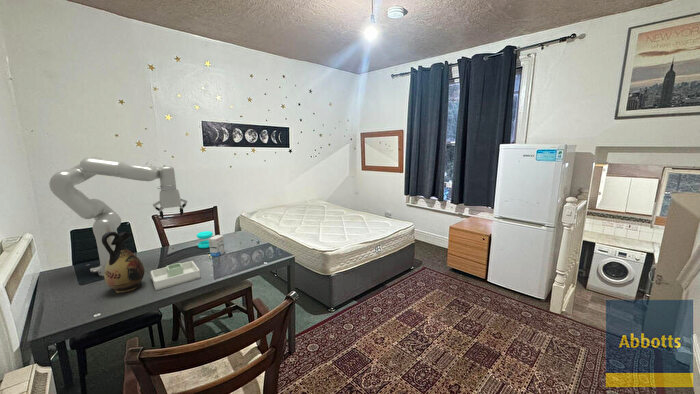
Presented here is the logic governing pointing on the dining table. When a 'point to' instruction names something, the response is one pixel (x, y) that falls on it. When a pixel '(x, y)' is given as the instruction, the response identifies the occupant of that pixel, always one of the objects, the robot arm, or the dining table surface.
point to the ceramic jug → (122, 264)
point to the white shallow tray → (163, 281)
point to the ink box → (216, 245)
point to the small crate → (174, 270)
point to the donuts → (204, 236)
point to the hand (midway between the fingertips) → (172, 216)
